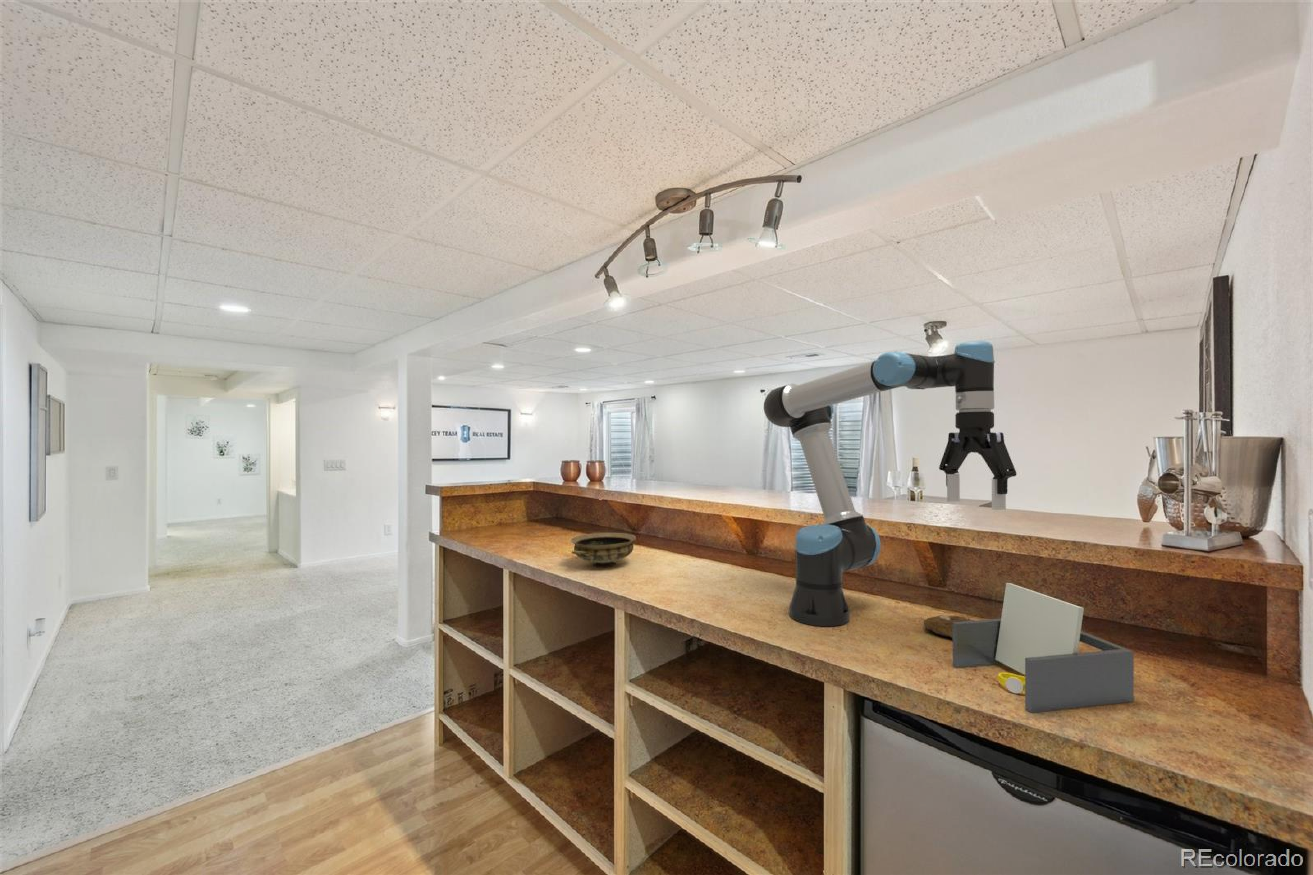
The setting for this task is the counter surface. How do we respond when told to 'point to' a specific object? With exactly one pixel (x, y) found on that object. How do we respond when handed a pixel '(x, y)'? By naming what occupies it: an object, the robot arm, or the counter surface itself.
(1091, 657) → the stand
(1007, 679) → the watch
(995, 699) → the counter surface
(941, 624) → the decorative rock
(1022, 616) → the trapdoor
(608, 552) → the ceramic bowl
